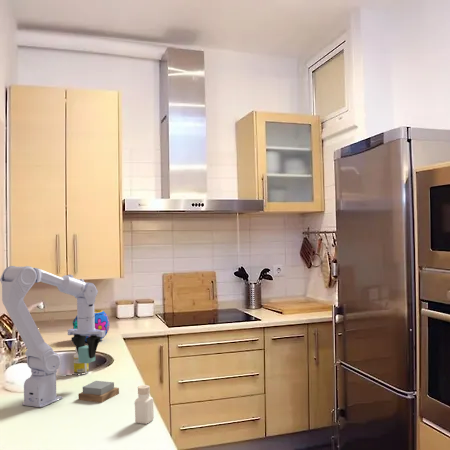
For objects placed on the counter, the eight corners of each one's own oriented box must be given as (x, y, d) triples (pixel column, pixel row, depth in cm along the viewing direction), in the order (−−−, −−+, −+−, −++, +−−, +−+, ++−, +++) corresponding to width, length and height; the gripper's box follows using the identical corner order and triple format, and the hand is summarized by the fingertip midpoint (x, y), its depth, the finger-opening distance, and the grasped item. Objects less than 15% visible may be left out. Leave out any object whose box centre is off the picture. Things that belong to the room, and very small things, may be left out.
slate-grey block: (101, 395, 152) (101, 388, 152) (82, 393, 154) (82, 387, 154) (114, 388, 158) (113, 382, 159) (96, 386, 161) (95, 380, 161)
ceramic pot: (72, 339, 251) (72, 310, 251) (107, 336, 257) (107, 307, 257) (74, 346, 234) (73, 315, 235) (111, 342, 240) (111, 312, 241)
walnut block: (102, 404, 151) (101, 396, 151) (78, 401, 154) (78, 393, 154) (119, 395, 159) (118, 387, 159) (96, 393, 162) (96, 385, 162)
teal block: (88, 363, 165) (87, 348, 165) (78, 362, 166) (78, 347, 166) (95, 360, 168) (95, 345, 168) (86, 359, 170) (85, 345, 170)
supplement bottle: (83, 370, 189) (82, 345, 189) (91, 372, 186) (91, 347, 186) (71, 374, 185) (70, 348, 185) (79, 376, 181) (78, 349, 182)
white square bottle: (134, 423, 132) (133, 388, 133) (142, 418, 136) (141, 384, 136) (147, 425, 131) (146, 389, 131) (154, 419, 135) (153, 385, 135)
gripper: (110, 316, 168) (111, 355, 168) (76, 314, 174) (77, 353, 174) (97, 319, 162) (98, 360, 162) (63, 317, 168) (63, 357, 167)
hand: (86, 357), depth 167 cm, fingers closed on teal block, 4 cm apart
